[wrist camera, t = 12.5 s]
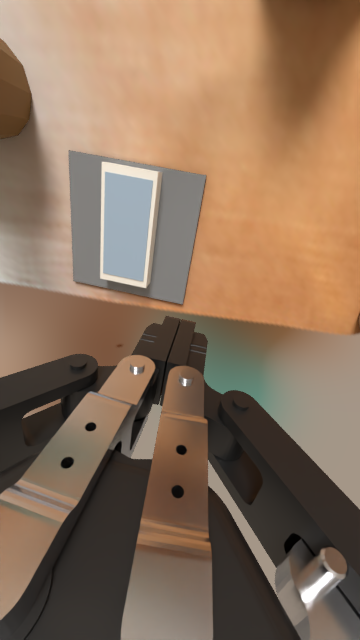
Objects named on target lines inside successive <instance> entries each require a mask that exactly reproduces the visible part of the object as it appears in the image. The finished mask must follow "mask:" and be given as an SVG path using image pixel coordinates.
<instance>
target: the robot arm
mask: <svg viewBox="0 0 360 640" xmlns="http://www.w3.org/2000/svg"><path fill="white" fill-rule="evenodd" d="M358 322H359V328H360V315H359V321H358ZM195 324H196V322H192V321H187V320H183V319H182V320H181V322H180V319H178V318H174V317H169V316H166V317H165V319H164V322H163V324H162V325H160V324H155V323H153V324H151V325H150V326H148V327H147V328H146V330H145V331H144V333H143V335H142V337H141V339H140V340H139V342H138V344H137V346H136V348H135V350H134V351H133V353H132V355H131V356H128V357H125V358H124V359H122V360H121V362H120V363H119V364H118V365H117V366H98V363H97V361H96V359H95V358H93V357H92V356H89V355H86V354H75V355H70V356H67V357H64V358H61V359H58V360H55V361H52V362H48V363H45V364H42V365H39V366H36V367H33V368H30V369H27V370H24V371H20V372H17V373H14V374H11V375H8V376H5V377H2V378H0V640H360V510H359V509H358V507H357V506H356V505H355V504H354V503H353V502H352V501H351V500H350V499H349V498H348V497H347V496H346V495H345V494H344V493H343V492H342V491H341V490H340V489H339V488H338V487H337V485H336V484H335V483H334V482H333V481H332V480H331V479H330V478H329V477H328V476H327V475H326V474H325V473H324V472H323V471H322V470H321V469H320V468H319V467H318V466H317V464H316V463H315V462H314V461H313V460H312V459H311V458H310V457H309V456H308V455H307V454H306V453H305V452H304V451H303V450H302V449H301V448H300V447H299V445H298V444H296V442H295V441H294V440H293V439H292V438H291V437H290V436H289V435H288V434H287V433H286V432H285V431H284V430H283V429H282V428H281V427H280V426H279V424H277V422H276V421H275V420H274V419H273V418H272V417H271V416H270V415H269V414H268V413H267V412H266V411H265V410H264V409H263V408H262V407H261V406H260V405H259V404H258V402H257V401H255V400H254V398H253V397H251V396H250V395H248V394H246V393H244V392H241V391H236V390H233V391H228V392H226V393H224V394H220V393H219V392H217V391H215V390H213V389H212V388H210V387H209V386H208V385H207V383H206V382H205V380H204V377H203V374H204V366H205V358H206V350H207V342H208V341H207V339H206V337H205V335H204V334H200V333H196V332H194V328H195ZM161 395H162V396H161ZM60 398H61V403H59V404H56V405H54V406H52V407H49V408H47V409H45V410H43V411H40V412H38V413H35V414H33V415H31V416H28V417H26V418H23V416H24V415H25V414H26V413H28V412H29V411H31V410H33V409H35V408H38V407H41V406H43V405H45V404H48V403H50V402H53V401H55V400H57V399H60ZM160 398H161V401H160ZM159 401H160V405H161V406H162V412H161V416H160V422H159V427H158V432H157V438H156V443H155V449H154V454H153V459H131V456H132V453H133V451H134V449H135V446H136V444H137V442H138V440H139V437H140V435H141V433H142V431H143V428H144V426H145V424H146V422H147V419H148V414H149V412H150V410H151V407H152V404H157V405H158V404H159ZM22 418H23V419H22ZM208 460H209V462H210V463H211V465H212V466H213V468H214V469H215V471H216V473H217V474H218V476H219V478H220V479H221V481H222V482H223V484H224V485H225V487H226V489H227V490H228V492H229V493H230V495H231V497H232V498H233V500H234V501H235V503H236V504H237V506H238V508H239V509H240V511H241V512H242V514H243V516H244V517H245V519H246V520H247V522H248V524H249V525H250V527H251V528H252V530H253V531H254V533H255V535H256V536H257V538H258V539H259V541H260V542H261V544H262V546H263V547H264V549H265V551H266V552H267V554H268V555H269V557H270V558H271V560H272V562H273V563H274V565H275V566H276V568H277V569H276V573H275V586H276V592H277V595H278V597H277V595H276V594H275V592H274V590H273V588H272V586H271V585H270V583H269V581H268V580H267V578H266V576H265V574H264V572H263V571H262V569H261V567H260V565H259V563H258V562H257V560H256V558H255V556H254V554H253V553H252V551H251V549H250V547H249V546H248V544H247V542H246V540H245V539H244V537H243V535H242V533H241V531H240V530H239V528H238V526H237V524H236V522H235V521H234V519H233V517H232V515H231V513H230V512H229V510H228V508H227V507H226V505H225V504H224V503H223V501H222V500H221V498H220V497H219V496H218V495H217V494H216V493H215V492H214V491H213V490H212V489H211V488H210V487H209V486H208ZM278 598H279V599H278Z"/></svg>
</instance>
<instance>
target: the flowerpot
mask: <svg viewBox="0 0 360 640" xmlns="http://www.w3.org/2000/svg"><path fill="white" fill-rule="evenodd" d="M30 106H31V91H30V88H29V84H28V81H27V78H26V74H25V71H24V68H23V65H22V64H21V63H20V61H19V60H18V59H17V57H16V56H15V55H14V54H13V52H12V51H11V50H10V48H9V47H8V46H7V44H6V43H5V42H4V41H3V40H2V39H0V139H3V138H8V137H12V136H17V135H19V133H20V132H21V130H22V129H23V128H24V126H25V125H26V123H27V122H28V121H29V118H30Z"/></svg>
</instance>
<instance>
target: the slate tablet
mask: <svg viewBox="0 0 360 640" xmlns="http://www.w3.org/2000/svg"><path fill="white" fill-rule="evenodd" d="M162 173H163V172H158V171H152V170H147V169H141V168H136V167H131V166H125V165H120V164H114V163H109V162H102V176H101V251H100V278H101V279H105V280H110V281H115V282H119V283H124V284H129V285H133V286H138V287H143V288H147V286H148V285H149V284H150V280H151V271H152V262H153V253H154V244H155V235H156V227H157V218H158V209H159V200H160V191H161V182H162Z"/></svg>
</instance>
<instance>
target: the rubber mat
mask: <svg viewBox="0 0 360 640" xmlns="http://www.w3.org/2000/svg"><path fill="white" fill-rule="evenodd" d="M102 162H109V163H114V164H120V165H125V166H131V167H136V168H141V169H147V170H152V171H158V172H163V173H162V182H161V191H160V200H159V209H158V218H157V227H156V235H155V244H154V253H153V262H152V271H151V280H150V284H149V285H148V286H147V288H143V287H138V286H133V285H129V284H124V283H119V282H115V281H110V280H105V279H101V278H100V251H101V176H102ZM69 175H70V201H71V227H72V253H73V279H74V281H76V282H81V283H86V284H90V285H95V286H99V287H104V288H109V289H113V290H118V291H123V292H127V293H132V294H136V295H141V296H146V297H150V298H155V299H160V300H164V301H169V302H173V303H178V304H183V301H184V295H185V290H186V284H187V279H188V273H189V268H190V263H191V257H192V252H193V246H194V241H195V235H196V230H197V224H198V219H199V213H200V208H201V203H202V197H203V192H204V186H205V181H206V175H200V174H195V173H190V172H184V171H179V170H173V169H168V168H162V167H157V166H151V165H146V164H141V163H135V162H130V161H124V160H119V159H113V158H108V157H102V156H97V155H92V154H86V153H81V152H75V151H70V150H69Z"/></svg>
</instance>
